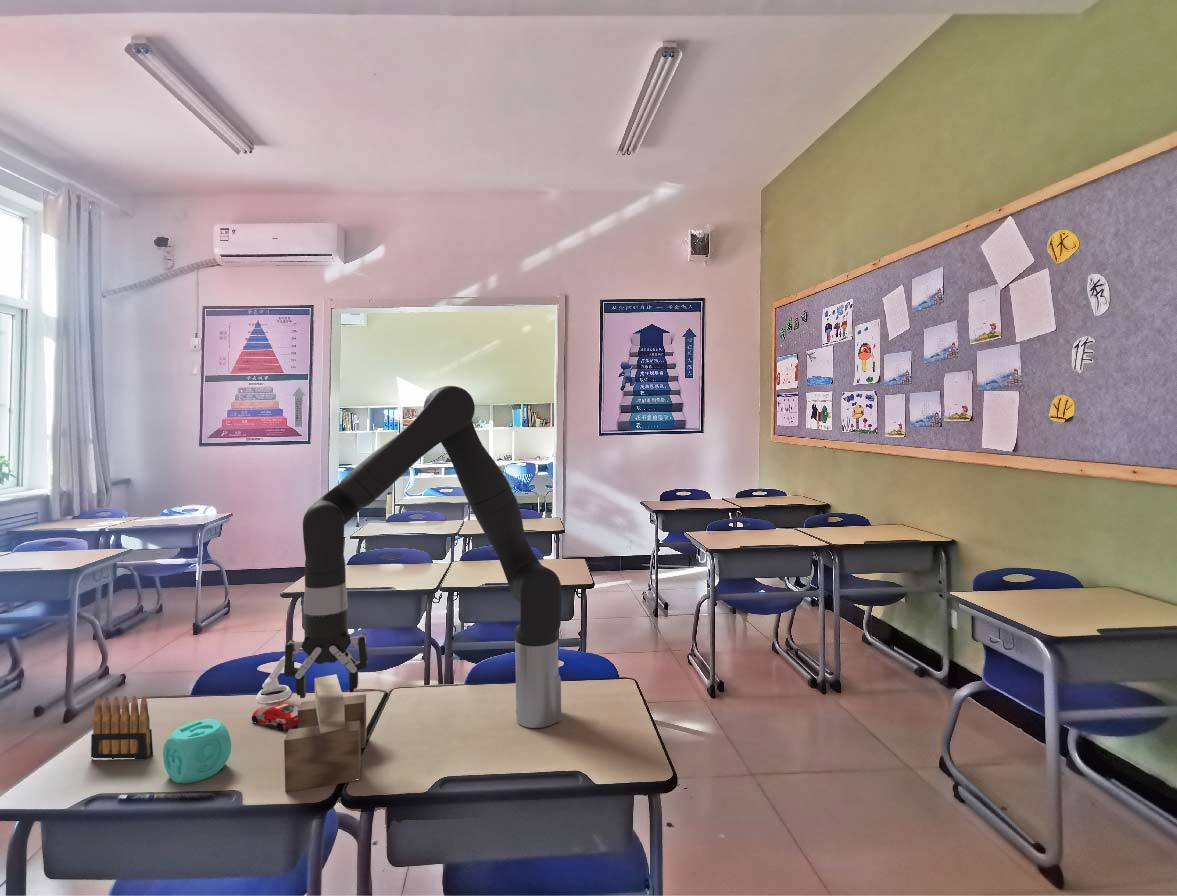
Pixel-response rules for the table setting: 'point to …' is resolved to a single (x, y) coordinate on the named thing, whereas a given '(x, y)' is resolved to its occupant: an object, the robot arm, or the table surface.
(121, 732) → the ammunition clip
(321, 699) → the maple beam
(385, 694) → the table surface
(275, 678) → the hook
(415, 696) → the table surface
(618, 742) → the table surface
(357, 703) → the slotted shelf
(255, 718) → the race car
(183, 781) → the decorative dice
